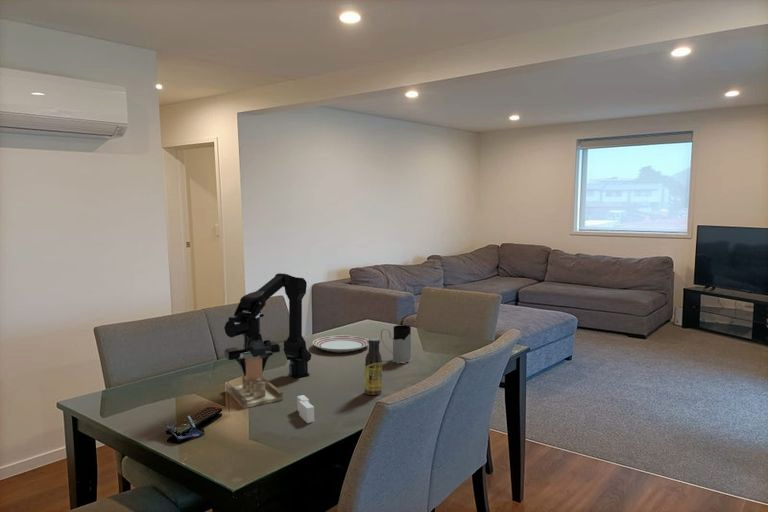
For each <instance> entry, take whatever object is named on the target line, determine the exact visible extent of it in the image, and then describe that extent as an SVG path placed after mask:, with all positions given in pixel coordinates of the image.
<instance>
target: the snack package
mask: <svg viewBox="0 0 768 512" xmlns="http://www.w3.org/2000/svg"><path fill="white" fill-rule="evenodd" d="M185 418H186V420H188V422H189V426H190V428H191V430H190V431H189V433H186V435H185V436H184V435H180V436H177V435H176V434H175V433H174V430H175V429H176V428H174V429H172V427H174V423H173V422H172V423H171V424H172V425H170V424H169V423H167V422H165V421H164V420H162V422H163V424H164V425H165V427H166V429H167V430H168V431H169V432H170V433H171V434H172V436H174V437H175V438H176V439H177V440H178V442H180V441H182V440H185V439H191V440H194V439H198V438H200V437H201V436H204V435H206V434H205V433H206V432H205V430H204V428H201V427H197V426H196V425H195V421H194V420H193V419H192V417H191V416H190V415H189V414H187V415H185Z"/></svg>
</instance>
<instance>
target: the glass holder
mask: <svg viewBox="0 0 768 512" xmlns="http://www.w3.org/2000/svg"><path fill="white" fill-rule="evenodd" d="M384 330H386V331H387V332H388V333H389V334H388V335H389V338H390V339H391V340H392V345H393V346H392V347H393V348H392V349H393V350H392V349H390V347H388V346H387V344H385V341H384V340H383V335H382V334H383V331H384ZM391 335H392V334H391V331H390V329H388V328H383V329H382V330H381V331H380V340H381V342H382V343H383V345H384V347H385V348H386V349H387V350H388V351H390V353H391V354H392V357H393V358H392V360H393V361H395V362H409V361H411V360H412V361H413V359H412V327H411V326H410V325H405V324H399V325H398V324H397V325H394V326H393V337H392V336H391ZM393 361H392V362H393Z"/></svg>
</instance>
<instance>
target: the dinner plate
mask: <svg viewBox="0 0 768 512" xmlns="http://www.w3.org/2000/svg"><path fill="white" fill-rule="evenodd" d="M368 341H369V339H368V338H365V337H362V336H356V335H346V334H345V335H328V336H323V337H318V338H316V339H314V340H313V341H312V345H313V346H315V348H318V349H320V350H323V351H325V350H326V352H329V351H330V352H329V353H349V351H352V352H355V351H354V350H356V351H358V350H360V349H363V348H365V347H366V346H369V343H368Z"/></svg>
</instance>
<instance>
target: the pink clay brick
mask: <svg viewBox="0 0 768 512" xmlns="http://www.w3.org/2000/svg"><path fill="white" fill-rule="evenodd" d="M245 369H246V376H244V379H245V380H251V379H256V378H257V379H259V378H261V377H263V378H264V376H263V372H262V358H261V357H260V356H257V357H252V358H245Z"/></svg>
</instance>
